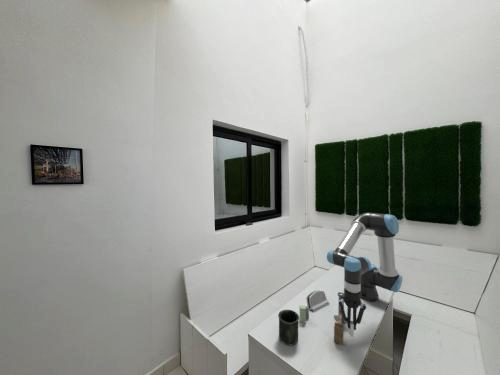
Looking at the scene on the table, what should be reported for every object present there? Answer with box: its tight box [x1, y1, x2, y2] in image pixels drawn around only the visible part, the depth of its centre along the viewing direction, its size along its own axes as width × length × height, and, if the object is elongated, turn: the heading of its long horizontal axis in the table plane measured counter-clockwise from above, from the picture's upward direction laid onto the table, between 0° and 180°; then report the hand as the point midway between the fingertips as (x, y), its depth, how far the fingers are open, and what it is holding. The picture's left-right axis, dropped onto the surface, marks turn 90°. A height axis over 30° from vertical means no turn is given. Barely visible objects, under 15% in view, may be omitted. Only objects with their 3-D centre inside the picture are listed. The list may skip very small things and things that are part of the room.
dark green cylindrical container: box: [277, 309, 300, 346], centre depth 107 cm, size 11×15×12 cm
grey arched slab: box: [305, 289, 330, 313], centre depth 135 cm, size 17×5×10 cm, turn 123°
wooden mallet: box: [333, 312, 344, 346], centre depth 110 cm, size 18×4×8 cm, turn 152°
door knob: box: [333, 291, 347, 325], centre depth 120 cm, size 6×6×16 cm
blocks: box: [299, 305, 310, 323], centre depth 121 cm, size 6×6×8 cm
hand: (351, 334), depth 102 cm, fingers closed
